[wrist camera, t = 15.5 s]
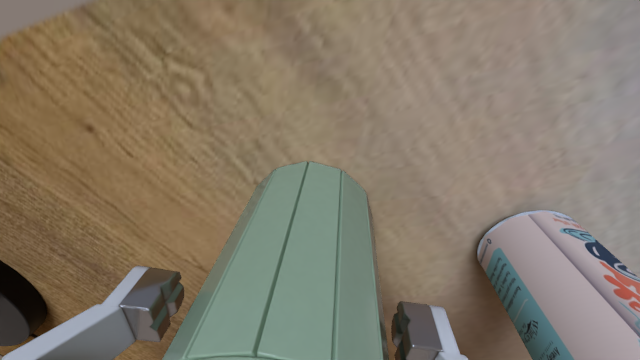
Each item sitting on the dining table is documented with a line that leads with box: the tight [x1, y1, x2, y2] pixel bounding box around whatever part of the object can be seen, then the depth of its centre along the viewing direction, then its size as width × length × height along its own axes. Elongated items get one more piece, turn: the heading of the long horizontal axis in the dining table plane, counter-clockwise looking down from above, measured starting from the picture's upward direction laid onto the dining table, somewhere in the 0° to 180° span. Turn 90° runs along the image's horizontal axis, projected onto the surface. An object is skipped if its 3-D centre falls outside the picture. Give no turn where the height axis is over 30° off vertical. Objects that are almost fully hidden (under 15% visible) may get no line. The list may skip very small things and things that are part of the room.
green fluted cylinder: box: [162, 161, 389, 360], centre depth 11 cm, size 6×6×10 cm
